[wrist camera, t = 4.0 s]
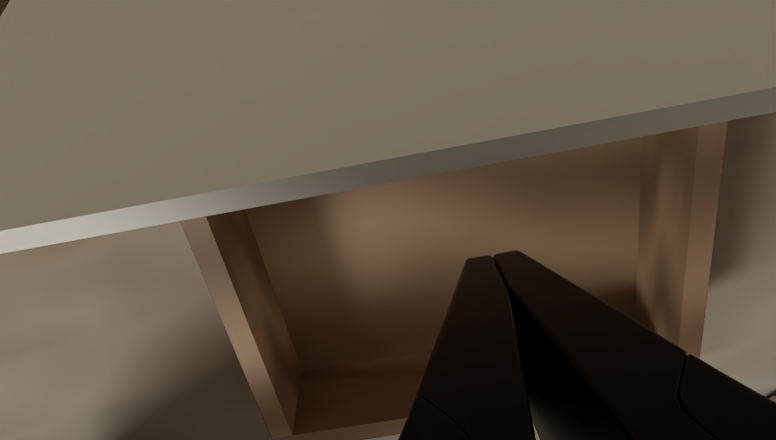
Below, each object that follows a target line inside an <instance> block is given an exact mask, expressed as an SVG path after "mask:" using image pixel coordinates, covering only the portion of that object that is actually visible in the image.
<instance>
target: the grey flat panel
mask: <svg viewBox="0 0 776 440" xmlns="http://www.w3.org/2000/svg"><path fill="white" fill-rule="evenodd" d="M774 112H776V0H10V1H9V3H8V5H7V6H6V8H5V10H4V11H3V13H2V15H1V16H0V254H2V253H8V252H13V251H19V250H24V249H30V248H35V247H40V246H46V245H51V244H57V243H62V242H68V241H73V240H79V239H84V238H90V237H95V236H101V235H106V234H112V233H117V232H123V231H128V230H134V229H139V228H145V227H150V226H155V225H161V224H166V223H172V222H177V221H183V220H188V219H194V218H199V217H205V216H210V215H216V214H221V213H227V212H232V211H238V210H243V209H249V208H254V207H259V206H265V205H270V204H276V203H281V202H287V201H292V200H298V199H303V198H309V197H314V196H320V195H325V194H331V193H336V192H342V191H347V190H353V189H358V188H363V187H369V186H374V185H380V184H385V183H391V182H396V181H402V180H407V179H413V178H418V177H424V176H429V175H435V174H440V173H446V172H451V171H457V170H462V169H467V168H473V167H478V166H484V165H489V164H495V163H500V162H506V161H511V160H517V159H522V158H528V157H533V156H539V155H544V154H550V153H555V152H561V151H566V150H571V149H577V148H582V147H588V146H593V145H599V144H604V143H610V142H615V141H621V140H626V139H632V138H637V137H643V136H648V135H654V134H659V133H665V132H670V131H675V130H681V129H686V128H692V127H697V126H703V125H708V124H714V123H719V122H725V121H730V120H736V119H741V118H747V117H752V116H758V115H763V114H769V113H774Z"/></svg>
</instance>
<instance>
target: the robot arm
mask: <svg viewBox="0 0 776 440" xmlns="http://www.w3.org/2000/svg"><path fill="white" fill-rule="evenodd" d="M533 423H534V426H535V428H536V431H537V433H538V436H539V438H540V440H776V402H774V401H772V400H770V399H769V398H767V397H765V396H763V395H761V394H759V393H757V392H755V391H754V390H752V389H750V388H748V387H747V386H745V385H743V384H741V383H740V382H738V381H736V380H734V379H733V378H731V377H729V376H727V375H726V374H724V373H722V372H720V371H719V370H717V369H715V368H714V367H712V366H710V365H709V364H707V363H705V362H704V361H702V360H700V359H699V358H697V357H695V356H694V355H692V354H689V355H687V352H686V351H685V350H683V349H682V348H680V347H678V346H677V345H675V344H673V343H672V342H670V341H668V340H667V339H665V338H663V337H662V336H660V335H658V334H657V333H655V332H653V331H652V330H650V329H648V328H647V327H645V326H644V325H642V324H640V323H639V322H637V321H635V320H634V319H632V318H630V317H629V316H627V315H625V314H624V313H622V312H620V311H619V310H617V309H615V308H614V307H612V306H610V305H609V304H607V303H605V302H604V301H602V300H600V299H599V298H597V297H595V296H594V295H592V294H590V293H589V292H587V291H585V290H584V289H582V288H580V287H579V286H577V285H575V284H574V283H572V282H571V281H569V280H567V279H566V278H564V277H562V276H561V275H559V274H557V273H556V272H554V271H552V270H551V269H549V268H547V267H546V266H544V265H542V264H541V263H539V262H537V261H536V260H534V259H532V258H531V257H529V256H527V255H526V254H524V253H522V252H521V251H518V250H514V251H508V252H502V253H497V254H495V255H494V256H493V257H492V256H490V255H485V256H479V257H473V258H468V259H467V260H466V261H465V263H464V266H463V269H462V271H461V274H460V277H459V280H458V282H457V285H456V288H455V290H454V293H453V296H452V299H451V301H450V304H449V307H448V309H447V312H446V315H445V318H444V320H443V323H442V326H441V328H440V331H439V334H438V337H437V339H436V342H435V345H434V347H433V350H432V353H431V356H430V358H429V361H428V364H427V366H426V369H425V372H424V375H423V377H422V380H421V383H420V385H419V388H418V391H417V396H416V397H415V398H414V401H413V404H412V406H411V409H410V412H409V415H408V417H407V420H406V422H405V425H404V427H403V429H402V432H401V434H400V437H399V439H398V440H536V439H535V433H534V427H533Z"/></svg>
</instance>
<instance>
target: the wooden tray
mask: <svg viewBox="0 0 776 440" xmlns="http://www.w3.org/2000/svg"><path fill="white" fill-rule="evenodd" d="M727 126H728V121H725V122H719V123H714V124H708V125H703V126H697V127H692V128H686V129H681V130H675V131H670V132H665V133H659V134H654V135H648V136H643V137H637V138H632V139H626V140H621V141H615V142H610V143H604V144H599V145H593V146H588V147H582V148H577V149H571V150H566V151H561V152H555V153H550V154H544V155H539V156H533V157H528V158H522V159H517V160H511V161H506V162H500V163H495V164H489V165H484V166H478V167H473V168H467V169H462V170H457V171H451V172H446V173H440V174H435V175H429V176H424V177H418V178H413V179H407V180H402V181H396V182H391V183H385V184H380V185H374V186H369V187H363V188H358V189H353V190H347V191H342V192H336V193H331V194H325V195H320V196H314V197H309V198H303V199H298V200H292V201H287V202H281V203H276V204H270V205H265V206H259V207H254V208H249V209H243V210H238V211H232V212H227V213H221V214H216V215H210V216H205V217H199V218H194V219H188V220H183V221H180V222H181V225H182V227H183V230H184V232H185V234H186V237H187V239H188V241H189V244H190V246H191V248H192V251H193V253H194V256H195V258H196V260H197V263H198V265H199V267H200V270H201V272H202V274H203V277H204V279H205V282H206V284H207V286H208V289H209V291H210V293H211V296H212V298H213V300H214V303H215V305H216V308H217V310H218V312H219V315H220V317H221V319H222V322H223V324H224V326H225V329H226V331H227V334H228V336H229V338H230V341H231V343H232V345H233V348H234V350H235V352H236V355H237V357H238V360H239V362H240V364H241V367H242V369H243V371H244V374H245V376H246V378H247V381H248V383H249V386H250V388H251V390H252V393H253V395H254V397H255V400H256V402H257V404H258V407H259V409H260V412H261V414H262V416H263V419H264V421H265V423H266V426H267V428H268V430H269V433H270V435H271V438H272V440H363V439H370V438H376V437H383V436H389V435H396V434H401V432H402V429H403V427H404V425H405V422H406V420H407V417H408V415H409V412H410V409H411V406H412V404H413V401H414V398H415V397H416V396H417V391H418V388H419V385H420V383H421V380H422V377H423V375H424V372H425V369H426V366H427V364H428V361H429V358H430V356H431V353H432V350H433V347H434V345H435V342H436V339H437V337H438V334H439V331H440V328H441V326H442V323H443V320H444V318H445V315H446V312H447V309H448V307H449V304H450V301H451V299H452V296H453V293H454V290H455V288H456V285H457V282H458V280H459V277H460V274H461V271H462V269H463V266H464V263H465V261H466V260H467V259H468V258H473V257H479V256H485V255H490V256H492V257H493V256H494V255H495V254H497V253H502V252H508V251H514V250H518V251H521V252H522V253H524V254H526V255H527V256H529V257H531V258H532V259H534V260H536V261H537V262H539V263H541V264H542V265H544V266H546V267H547V268H549V269H551V270H552V271H554V272H556V273H557V274H559V275H561V276H562V277H564V278H566V279H567V280H569V281H571V282H572V283H574V284H575V285H577V286H579V287H580V288H582V289H584V290H585V291H587V292H589V293H590V294H592V295H594V296H595V297H597V298H599V299H600V300H602V301H604V302H605V303H607V304H609V305H610V306H612V307H614V308H615V309H617V310H619V311H620V312H622V313H624V314H625V315H627V316H629V317H630V318H632V319H634V320H635V321H637V322H639V323H640V324H642V325H644V326H645V327H647V328H648V329H650V330H652V331H653V332H655V333H657V334H658V335H660V336H662V337H663V338H665V339H667V340H668V341H670V342H672V343H673V344H675V345H677V346H678V347H680V348H682V349H683V350H685V351H686V352H687V355H689V354H692V355H694V356H695V357H697V358H699V359H700V352H701V343H702V335H703V327H704V318H705V310H706V302H707V293H708V285H709V276H710V268H711V260H712V251H713V243H714V235H715V226H716V218H717V210H718V201H719V193H720V185H721V176H722V168H723V160H724V151H725V143H726V134H727Z"/></svg>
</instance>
